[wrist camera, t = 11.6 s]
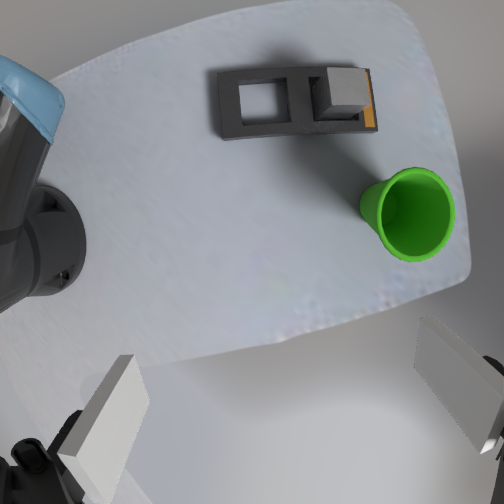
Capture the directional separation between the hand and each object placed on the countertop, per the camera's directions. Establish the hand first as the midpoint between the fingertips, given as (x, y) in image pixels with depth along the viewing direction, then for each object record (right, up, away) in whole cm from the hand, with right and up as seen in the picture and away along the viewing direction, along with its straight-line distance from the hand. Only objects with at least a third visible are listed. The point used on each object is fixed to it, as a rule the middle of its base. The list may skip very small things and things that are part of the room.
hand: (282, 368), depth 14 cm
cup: (+14, +11, +25) cm, 31 cm away
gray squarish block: (+8, +23, +22) cm, 33 cm away
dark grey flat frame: (+4, +23, +22) cm, 32 cm away
